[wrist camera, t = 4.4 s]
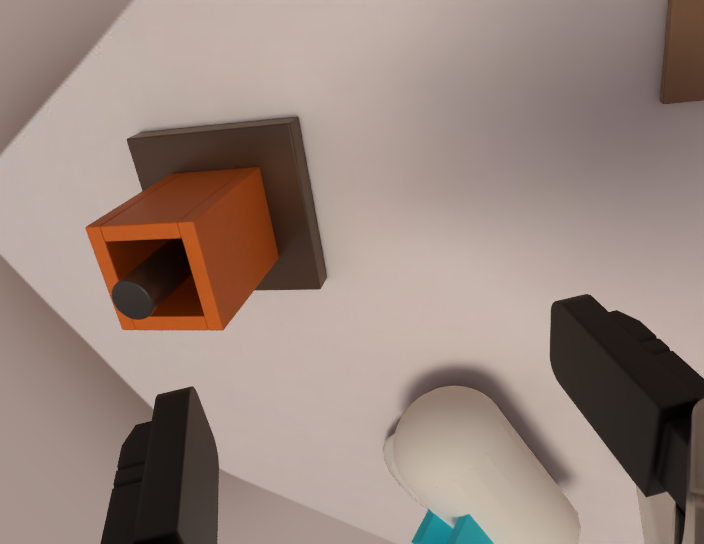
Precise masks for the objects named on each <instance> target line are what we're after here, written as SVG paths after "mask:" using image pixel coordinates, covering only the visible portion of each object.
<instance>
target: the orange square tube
mask: <svg viewBox="0 0 704 544" xmlns="http://www.w3.org/2000/svg"><path fill="white" fill-rule="evenodd" d="M86 231H87V234H88V237H89V239H90V242H91V245H92V247H93V250H94V253H95V256H96V258H97V261H98V264H99V267H100V269H101V272H102V275H103V278H104V280H105V283H106V286H107V288H108V291H109V294H110V297H111V299H112V289H113V287H114V285H115V284H116V283H117V282H118V281H120V280H121V279H122V278H123V277H124V276H126V275H127V274H128V273H129V272H131V271H132V270H133V269H134V268H135V267H137V266H138V265H139V264H140V263H142V262H143V261H144V260H145V259H146V258H148V257H149V256H150V255H151V254H153V253H154V252H155V251H156V250H157V249H159V248H160V247H161V246H162V245H163V244H165V243H166V242H167V241H168V240H170V239H177V238H182V240H183V244H184V247H185V250H186V254H187V257H188V261H189V264H190V268H191V271H192V274H191V275H190V276H189V277H188V278H187V279H186V280H185V281H184V282H183V283H182V284H181V285H180V286H179V287H178V288H177V289H176V290H175V291H174V292H173V293H172V294H171V295H170V296H169V297H168V298H167V299H166V300H165V301H164V302H163V303H162V304H161V305H160V306H159V307H158V308H157V309H156V310H155V311H154V312H153V313H152V314H151V315H150V316H149V317H147V318H145V319H142V320H135V319H131V318H128V317H126V316H125V315H123V314H122V313H121V312H120V311H119V310H118V309H117V308H116V306H115V305H114V303H113V305H114V308H115V310H116V313H117V316H118V318H119V321H120V324H121V327H122V329H123V330H224V329H225V327H226V326H227V325H228V323H229V322H230V321H231V320H232V318H233V317H234V316H235V314H236V313H237V312H238V310H239V309H240V308H241V307H242V305H243V304H244V303H245V301H246V300H247V299H248V297H249V296H250V295H251V294H252V292H253V291H254V290H255V288H256V287H257V286H258V284H259V283H260V282H261V281H262V279H263V278H264V277H265V275H266V274H267V273H268V271H269V270H270V269H271V268H272V266H273V265H274V264H275V262H276V261H277V260H278V258H279V255H278V251H277V246H276V241H275V237H274V232H273V227H272V223H271V218H270V214H269V209H268V204H267V200H266V195H265V190H264V186H263V181H262V177H261V172H260V168H259V167H250V168H239V169H226V170H213V171H200V172H187V173H174V174H170V175H168V176H166V177H165V178H163V179H162V180H160V181H158V182H157V183H155V184H154V185H152V186H150V187H149V188H147V189H146V190H144V191H142V192H141V193H139V194H138V195H136V196H134V197H133V198H131V199H130V200H128V201H127V202H125V203H123V204H122V205H120V206H119V207H117V208H115V209H114V210H112V211H111V212H109V213H107V214H106V215H104V216H103V217H101V218H99V219H98V220H96V221H95V222H93V223H91V224H90V225H88V226H87V227H86ZM112 302H113V300H112Z"/></svg>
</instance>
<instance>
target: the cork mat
mask: <svg viewBox="0 0 704 544" xmlns="http://www.w3.org/2000/svg"><path fill="white" fill-rule="evenodd" d="M703 100H704V0H669V2H668V13H667V25H666V36H665V48H664V60H663V71H662V83H661V95H660V102H661V103H662V104H670V103H681V102H692V101H703Z"/></svg>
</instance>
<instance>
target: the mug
mask: <svg viewBox="0 0 704 544" xmlns="http://www.w3.org/2000/svg"><path fill="white" fill-rule="evenodd" d="M383 453H384V460H385V462H386V464H387V467H388V469H389V471H390V473H391V474H392V476H393V477H394V478H395V480H396V481H397V482H398V484H399V485H400V486H401V487H402V488H403V489H404V490H405V491H406V492H407V493H408V494H409V495H410V496H411V497H412V498H414V499H415V500H416V501H417V502H419V503H420V504H421V505H422V506H424V507H425V508H427V509H429V510H428V512H427V514H426V516H425V517H424V519H423V521H422V523H421V525H420V527H419V529H418V531H417V533H416V534H415V536H414V538H413V540H412V543H413V544H578V542H579V535H580V528H581V527H580V522H579V518H578V513H577V511H576V510H575V509H574V507H573V506H572V504H571V503H570V501H569V500H568V499H567V497H566V496H565V495H564V493H563V492H562V491H561V489H560V488H559V487H558V486H557V484H556V483H555V482H554V480H553V479H552V478H551V476H550V475H549V474H548V472H547V471H546V470H545V469H544V467H543V466H542V465H541V463H540V462H539V461H538V459H537V458H536V457H535V455H534V454H533V453H532V451H531V450H530V449H529V448H528V446H527V445H526V444H525V442H524V441H523V440H522V438H521V437H520V436H519V434H518V433H517V432H516V431H515V429H514V428H513V427H512V425H511V424H510V423H509V421H508V420H507V419H506V417H505V416H504V415H503V414H502V412H501V411H500V410H499V408H498V407H497V405H496V404H495V403H494V402H493V401H492V400H491V399H490V398H489V397H487V396H486V395H484V394H483V393H481V392H480V391H477V390H475V389H472V388H469V387H464V386H446V387H440V388H437V389H434V390H432V391H430V392H428V393H426V394H424V395H422V396H421V397H419V398H418V399H417V400H415V401H414V402H413V403H412V404H411V405H410V406H409V407H408V409H407V410H406V411H405V413H404V414H403V415H402V417H401V419H400V421H399V423H398V425H397V428H396V431H395V433H394V434H393V435H392V436H390V437H389V438H388V439H386V442H385V444H384V447H383Z"/></svg>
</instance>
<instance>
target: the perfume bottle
mask: <svg viewBox="0 0 704 544" xmlns="http://www.w3.org/2000/svg"><path fill="white" fill-rule="evenodd" d="M636 489H637V496H638V502H639V509H640V515H641V522H642V528H643V534H644V541H645V544H671V542H672V522H673V509H674V504H675V501H674V500H673V498H672V497H671V496H670V495H669V494H668V492H665V493H661V494H657V495H654V496H650V497H645V496H644V494H643V493H642V492H641V490H640V489H639V488H638V486H637V485H636Z"/></svg>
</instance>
